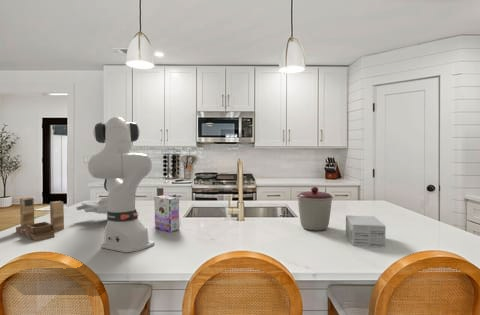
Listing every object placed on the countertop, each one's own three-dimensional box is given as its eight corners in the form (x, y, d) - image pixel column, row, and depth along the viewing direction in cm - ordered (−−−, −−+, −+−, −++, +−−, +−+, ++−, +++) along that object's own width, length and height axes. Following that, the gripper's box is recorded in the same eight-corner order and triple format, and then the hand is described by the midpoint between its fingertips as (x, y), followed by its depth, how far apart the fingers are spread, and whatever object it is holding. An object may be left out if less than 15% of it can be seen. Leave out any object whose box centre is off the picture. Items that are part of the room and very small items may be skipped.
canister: (289, 228, 157) (289, 187, 157) (308, 222, 171) (308, 183, 170) (322, 235, 145) (322, 190, 144) (339, 227, 158) (339, 186, 158)
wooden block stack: (54, 236, 145) (53, 201, 144) (34, 241, 138) (33, 204, 138) (34, 228, 159) (33, 196, 159) (16, 232, 153) (15, 198, 152)
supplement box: (345, 234, 147) (345, 215, 146) (374, 236, 145) (374, 216, 144) (352, 246, 130) (352, 224, 130) (385, 247, 128) (386, 225, 128)
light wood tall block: (64, 229, 158) (63, 201, 158) (54, 231, 155) (53, 203, 154) (59, 227, 161) (59, 200, 161) (50, 229, 158) (49, 202, 157)
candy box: (179, 230, 155) (179, 197, 155) (169, 232, 151) (169, 199, 150) (164, 225, 165) (163, 194, 164) (154, 227, 160) (154, 196, 160)
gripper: (96, 198, 184) (72, 201, 173) (115, 202, 172) (90, 205, 161) (96, 208, 184) (72, 212, 174) (115, 213, 172) (90, 218, 161)
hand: (81, 209), depth 167 cm, fingers open, 8 cm apart
